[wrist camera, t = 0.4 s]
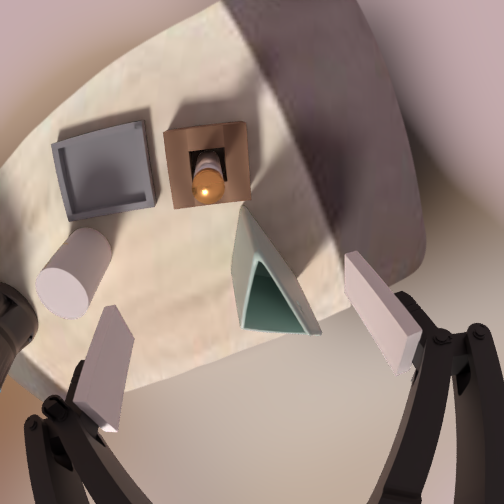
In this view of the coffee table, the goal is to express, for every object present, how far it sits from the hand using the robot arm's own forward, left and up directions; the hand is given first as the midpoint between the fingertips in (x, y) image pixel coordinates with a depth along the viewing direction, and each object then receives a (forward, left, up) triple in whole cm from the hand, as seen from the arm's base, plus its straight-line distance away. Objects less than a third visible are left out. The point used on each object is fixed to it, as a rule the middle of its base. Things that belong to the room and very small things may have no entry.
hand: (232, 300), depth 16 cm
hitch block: (-1, +3, -27) cm, 27 cm away
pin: (-1, +3, -27) cm, 27 cm away
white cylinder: (-22, -8, -27) cm, 36 cm away
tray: (-16, +4, -27) cm, 32 cm away
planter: (+4, -13, -27) cm, 31 cm away
